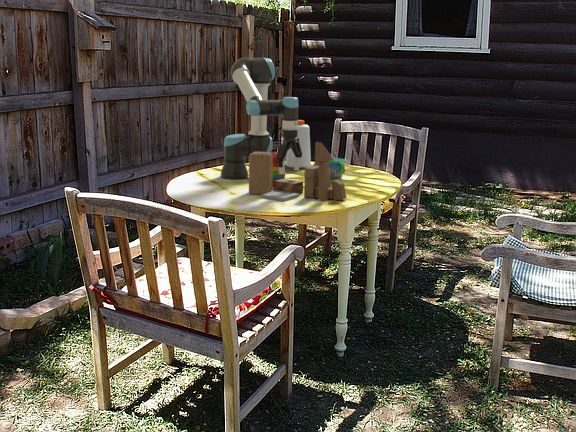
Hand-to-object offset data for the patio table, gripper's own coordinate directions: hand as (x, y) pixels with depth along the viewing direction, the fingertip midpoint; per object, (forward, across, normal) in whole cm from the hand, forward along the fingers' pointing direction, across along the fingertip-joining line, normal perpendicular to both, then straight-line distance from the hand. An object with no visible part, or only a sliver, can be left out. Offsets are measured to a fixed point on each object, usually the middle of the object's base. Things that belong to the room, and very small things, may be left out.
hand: (289, 172), depth 332 cm
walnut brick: (+11, 0, 0) cm, 11 cm away
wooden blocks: (+11, +3, -21) cm, 24 cm away
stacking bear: (+10, +10, +14) cm, 20 cm away
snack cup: (+10, +52, +2) cm, 53 cm away
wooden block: (+10, -10, +10) cm, 18 cm away
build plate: (+10, -12, -3) cm, 16 cm away
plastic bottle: (+9, +70, +38) cm, 81 cm away
